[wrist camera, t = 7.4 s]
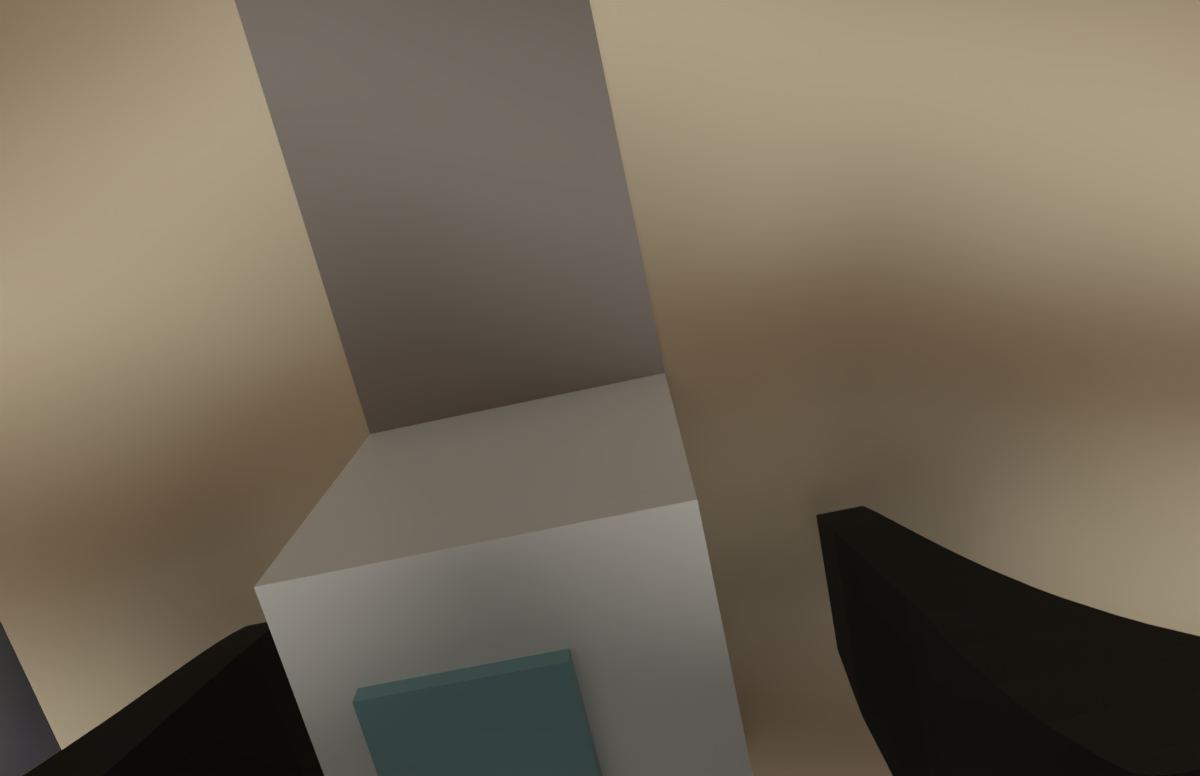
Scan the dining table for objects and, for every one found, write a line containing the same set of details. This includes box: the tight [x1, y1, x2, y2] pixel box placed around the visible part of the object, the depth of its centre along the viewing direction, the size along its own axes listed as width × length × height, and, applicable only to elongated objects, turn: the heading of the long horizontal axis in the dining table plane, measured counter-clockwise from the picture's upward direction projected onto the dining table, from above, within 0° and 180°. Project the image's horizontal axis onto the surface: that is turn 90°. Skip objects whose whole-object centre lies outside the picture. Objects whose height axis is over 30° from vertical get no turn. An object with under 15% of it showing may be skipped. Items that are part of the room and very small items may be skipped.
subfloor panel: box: [0, 0, 1200, 776], centre depth 12 cm, size 14×22×1 cm, turn 102°
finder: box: [254, 373, 753, 776], centre depth 10 cm, size 6×4×4 cm, turn 12°
